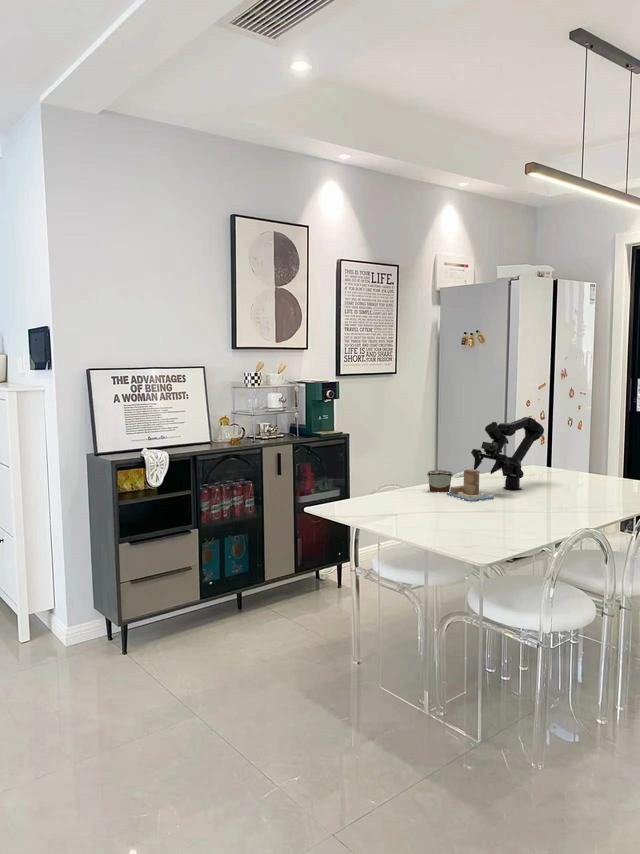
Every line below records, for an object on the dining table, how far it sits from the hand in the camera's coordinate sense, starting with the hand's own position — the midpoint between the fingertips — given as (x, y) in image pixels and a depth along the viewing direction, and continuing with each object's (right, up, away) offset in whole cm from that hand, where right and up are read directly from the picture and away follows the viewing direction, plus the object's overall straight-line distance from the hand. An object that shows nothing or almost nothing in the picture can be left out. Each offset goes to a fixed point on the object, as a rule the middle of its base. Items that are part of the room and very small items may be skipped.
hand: (482, 471), depth 324 cm
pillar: (-6, -11, -4) cm, 13 cm away
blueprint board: (-6, -12, -2) cm, 13 cm away
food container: (-19, -11, +11) cm, 24 cm away
